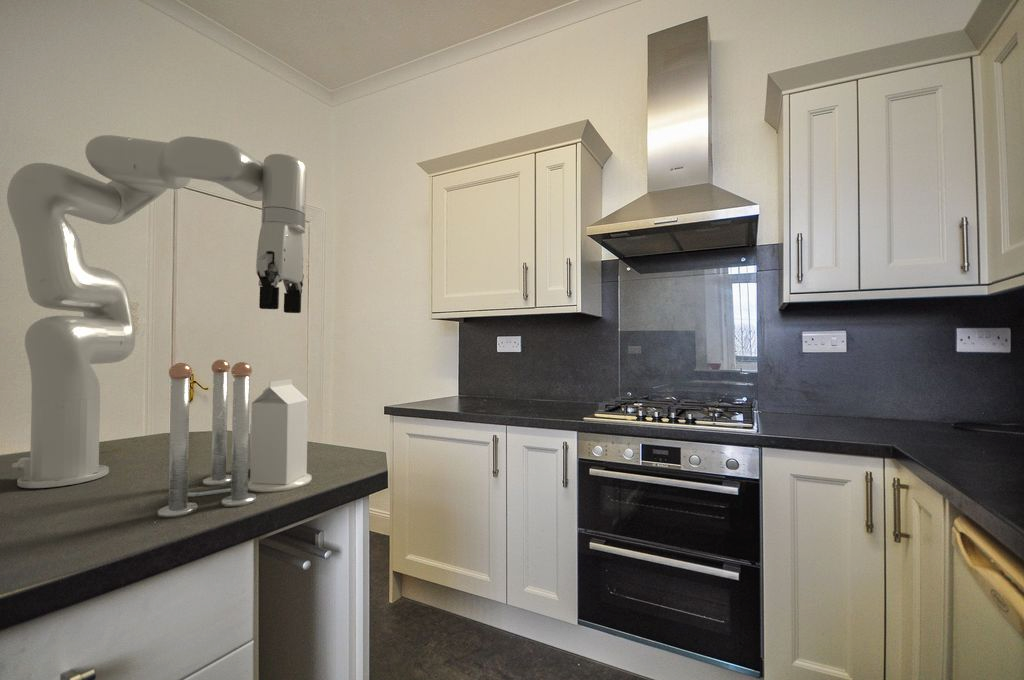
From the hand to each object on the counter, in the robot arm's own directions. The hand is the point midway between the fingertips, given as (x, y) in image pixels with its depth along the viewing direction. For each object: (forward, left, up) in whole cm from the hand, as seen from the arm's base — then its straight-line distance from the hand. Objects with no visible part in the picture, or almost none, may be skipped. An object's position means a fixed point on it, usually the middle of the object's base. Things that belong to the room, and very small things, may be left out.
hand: (281, 311), depth 88 cm
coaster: (0, 0, -33) cm, 33 cm away
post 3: (-2, -11, -33) cm, 35 cm away
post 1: (-9, -15, -33) cm, 37 cm away
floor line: (-9, -5, -33) cm, 35 cm away
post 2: (-12, +1, -33) cm, 35 cm away
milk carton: (0, 0, -33) cm, 33 cm away
